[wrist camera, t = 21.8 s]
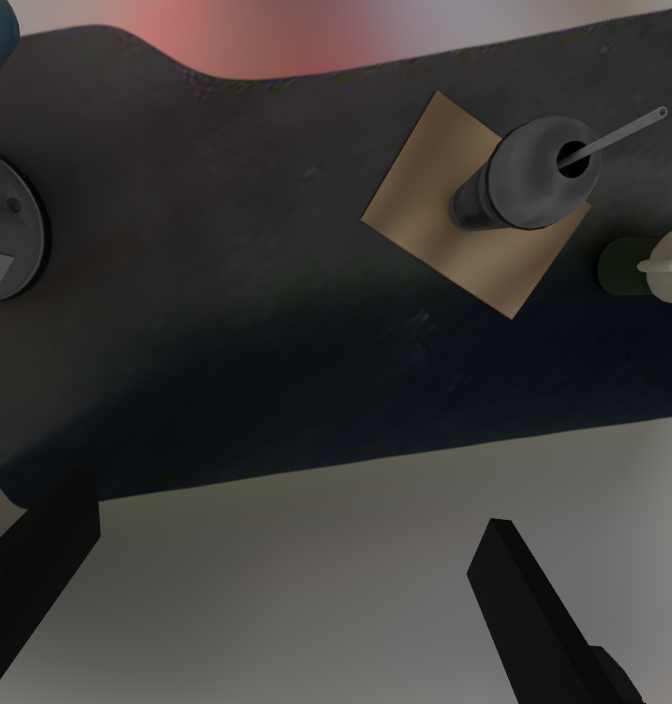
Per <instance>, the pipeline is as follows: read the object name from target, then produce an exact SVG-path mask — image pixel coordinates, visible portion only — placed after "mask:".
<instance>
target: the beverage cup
mask: <svg viewBox="0 0 672 704" xmlns="http://www.w3.org/2000/svg"><path fill="white" fill-rule="evenodd" d="M666 115H667V109H666V108H665V107H660V108H658V109H656V110H654V111H652V112H650V113H649V114H647V115H645V116H643V117H641V118H639V119H637V120H635V121H633V122H631V123H629V124H628V125H626V126H624V127H622V128H620V129H618V130H616V131H614V132H612V133H610V134H608V135H606V136H605V137H603V138H601V139H599V140H598V139H597V137H596V136H595V134H594V133H593V132H592V130H591V129H590V127H588V126H587V125H585V124H584V123H582V122H581V121H579V120H577V119H573V118H568V117H564V116H553V117H546V118H540V119H537V120H534V121H532V122H528V123H525V124H523V125H521V126H519V127H517V128H515V129H513V130H512V131H510V132H509V133H508V134H507V135H506V136H505V137H504V138H503V139H502V140H501V141H500V142H499V143H498V144H497V146H496V147H495V149H494V151H493V152H492V154H491V155H490V157H489V158H488V160H487V161H486V162H485V163H484V164H483V165H482V166H481V167H480V168H479V169H478V170H477V171H476V172H475V173H474V174H473V175H472V176H471V177H470V178H469V179H468V180H467V181H466V182H465V183H464V184H463V185H461V186H460V187H459V188H458V190H457V191H456V192H455V193H454V194H453V196H452V198H451V200H450V202H449V207H448V212H449V217H450V220H451V222H452V223H453V224H454V225H455V227H457V228H459V229H460V230H464V231H482V230H492V229H502V228H514V229H520V230H526V231H532V230H539V229H544V228H546V227H548V226H550V225H552V224H554V223H556V222H558V221H560V220H561V219H563V218H565V217H567V216H568V215H570V214H571V213H572V212H573V211H574V210H575V209H577V208H578V207H579V206H580V205H581V204H582V203H583V202H584V201H585V200H586V199H587V197H588V196H589V194H590V193H591V191H592V189H593V188H594V186H595V185H596V183H597V180H598V177H599V174H600V170H601V165H602V151H601V148H603V147H605V146H607V145H609V144H611V143H613V142H615V141H617V140H619V139H621V138H624V137H626V136H628V135H630V134H632V133H634V132H636V131H638V130H640V129H642V128H644V127H646V126H648V125H650V124H652V123H654V122H656V121H658V120H660V119H662V118H664V117H665V116H666Z"/></svg>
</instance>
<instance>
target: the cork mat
mask: <svg viewBox="0 0 672 704" xmlns="http://www.w3.org/2000/svg"><path fill="white" fill-rule="evenodd" d="M501 140H502V138H500V137H499V136H498V135H496V134H495V133H494V132H492V131H491V130H490V129H488V128H487V127H486V126H484V125H483V124H482V123H480V122H479V121H478V120H476V119H475V118H474V117H472V116H471V115H470V114H468V113H467V112H465V111H464V110H463V109H461V108H460V107H459V106H457V105H456V104H455V103H453V102H452V101H451V100H449V99H448V98H447V97H445V96H444V95H443V94H441V93H440V92H439V91H436V93H435V95H434V96H433V98H432V100H431V101H430V103H429V105H428V106H427V108H426V110H425V111H424V113H423V115H422V117H421V118H420V120H419V122H418V123H417V125H416V127H415V128H414V130H413V132H412V133H411V135H410V137H409V139H408V140H407V142H406V144H405V145H404V147H403V149H402V150H401V152H400V154H399V155H398V157H397V159H396V161H395V162H394V164H393V166H392V167H391V169H390V171H389V172H388V174H387V176H386V178H385V179H384V181H383V183H382V184H381V186H380V188H379V189H378V191H377V193H376V194H375V196H374V198H373V200H372V201H371V203H370V205H369V206H368V208H367V210H366V211H365V213H364V215H363V216H362V218H361V220H360V221H361V222H363V223H364V224H366V225H367V226H369V227H370V228H372V229H373V230H375V231H376V232H378V233H379V234H381V235H382V236H384V237H385V238H387V239H388V240H390V241H392V242H393V243H395V244H396V245H398V246H399V247H401V248H402V249H404V250H405V251H407V252H408V253H410V254H411V255H413V256H414V257H416V258H417V259H419V260H420V261H422V262H424V263H425V264H427V265H428V266H430V267H431V268H433V269H434V270H436V271H437V272H439V273H440V274H442V275H443V276H445V277H446V278H448V279H449V280H451V281H452V282H454V283H455V284H457V285H459V286H460V287H462V288H463V289H465V290H466V291H468V292H469V293H471V294H472V295H474V296H475V297H477V298H478V299H480V300H481V301H483V302H484V303H486V304H487V305H489V306H490V307H492V308H494V309H495V310H497V311H498V312H500V313H501V314H503V315H504V316H506V317H507V318H509V319H513V317H514V316H515V315H516V313H517V312H518V310H519V309H520V308H521V306H522V305H523V303H524V302H525V300H526V299H527V298H528V296H529V295H530V293H531V292H532V290H533V289H534V288H535V286H536V285H537V283H538V282H539V281H540V279H541V278H542V276H543V275H544V273H545V272H546V271H547V269H548V268H549V266H550V265H551V263H552V262H553V261H554V259H555V258H556V256H557V255H558V254H559V252H560V251H561V249H562V248H563V246H564V245H565V244H566V242H567V241H568V239H569V238H570V236H571V235H572V234H573V232H574V231H575V229H576V228H577V227H578V225H579V224H580V222H581V221H582V219H583V218H584V217H585V215H586V214H587V212H588V211H589V209H590V208H591V207H592V205H590V204H589V203H588V202H586V201H584V202H583V203H582V204H581V205H580V206H579V207H578V208H577V209H575V210H574V211H573V212H572V213H571V214H570V215H568V216H567V217H565V218H563V219H561V220H560V221H558V222H556V223H554V224H552V225H550V226H548V227H546V228H544V229H539V230H532V231H526V230H520V229H514V228H502V229H492V230H482V231H464V230H460V229H459V228H457V227H455V225H454V224H453V223H452V222H451V220H450V217H449V212H448V207H449V202H450V200H451V198H452V196H453V194H454V193H455V192H456V191H457V190H458V188H459V187H460V186H461V185H463V184H464V183H465V182H466V181H467V180H468V179H469V178H470V177H471V176H472V175H473V174H474V173H475V172H476V171H477V170H478V169H479V168H480V167H481V166H482V165H483V164H484V163H485V162H486V161H487V160H488V158H489V157H490V155H491V154H492V152H493V151H494V149H495V147H496V146H497V144H498V143H499V142H500V141H501Z"/></svg>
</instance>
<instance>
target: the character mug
mask: <svg viewBox="0 0 672 704" xmlns="http://www.w3.org/2000/svg"><path fill="white" fill-rule="evenodd" d="M597 268H598V278H599V282H600V284H601V285H602V287H603V289H604V291H606V292H608V293H610V294H612V295H614V296H619V295H643V294H654V295H656V296H657V297H658V298H659V299H661V300H662V301H666V302H670V303H672V231H671V232H670V233H668V234H667V235H666V236H665V237H653V236H649V237H620V238H619V239H617V240H615V241H613V242H611V243H610V244H608V246H607V247H606V248H605V249H604V250H603V252H602V253H601V254H600V257H599V262H598V267H597Z"/></svg>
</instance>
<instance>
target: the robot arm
mask: <svg viewBox="0 0 672 704" xmlns="http://www.w3.org/2000/svg"><path fill="white" fill-rule="evenodd" d="M19 36H20V31H19V24H18V21H17V18H16V16H15V13H14V11H13V9H12V7H11V6H10V4H9V2H8V1H7V0H0V69H1V67H2V66H3V64H4V63H5V62H6V60H7V59H8V58H9V56H10V55H11V53H12V52H13V51H14V49H15V48H16V46H17V44H18V41H19ZM50 249H51V229H50V223H49V219H48V215H47V212H46V210H45V207H44V205H43V203H42V200H41V198H40V197H39V195H38V193H37V191H36V190H35V188H34V187H33V185H32V184H31V183H30V182H29V180H28V179H27V178H26V177H25V176H24V175H23V174H22V173H21V172H20V171H19V170H18V169H17V168H16V167H15V166H14V165H12V164H11V163H10V162H8V161H7V160H5V159H4V158H2V157H1V156H0V302H1V301H6V300H9V299H12V298H14V297H17V296H19V295H21V294H22V293H24V292H26V291H27V290H28V289H30V288H31V287H32V286H33V285H34V284H35V283H36V282H37V280H38V279H39V278H40V276H41V275H42V273H43V271H44V269H45V267H46V265H47V262H48V259H49V255H50ZM100 536H101V532H100V518H99V504H98V490H97V476H96V471H89V470H80V469H72V468H70V469H69V470H68V471H67V472H66V473H65V474H64V475H63V476H62V477H61V478H60V479H59V480H58V481H57V482H56V483H55V484H54V485H53V486H52V487H51V488H50V489H49V490H48V491H47V492H46V493H45V494H44V495H43V496H42V497H41V498H40V499H39V500H38V501H37V502H36V503H35V504H34V505H33V506H31V507H30V508H29V509H28V510H27V511H26V513H24V514H23V515H22V516H21V517H20V518H19V519H18V520H17V521H16V522H15V523H14V524H13V525H12V526H11V527H10V528H9V529H8V530H7V531H6V532H5V533H4V534H3V535H2V536H1V537H0V679H1V678H2V676H3V675H4V673H5V672H6V671H7V669H8V668H9V666H10V665H11V663H12V662H13V661H14V659H15V658H16V656H17V655H18V653H19V652H20V650H21V649H22V648H23V646H24V645H25V643H26V642H27V641H28V639H29V638H30V636H31V635H32V634H33V632H34V630H35V629H36V628H37V626H38V625H39V624H40V622H41V621H42V619H43V618H44V616H45V615H46V614H47V612H48V611H49V609H50V608H51V607H52V605H53V604H54V602H55V601H56V599H57V598H58V596H59V595H60V594H61V592H62V591H63V589H64V588H65V587H66V585H67V584H68V582H69V581H70V579H71V578H72V577H73V575H74V574H75V572H76V571H77V570H78V568H79V567H80V565H81V564H82V562H83V561H84V560H85V558H86V557H87V555H88V554H89V552H90V551H91V549H92V548H93V547H94V545H95V544H96V543H97V541H98V540H99V538H100ZM467 577H468V579H469V582H470V584H471V586H472V589H473V591H474V594H475V596H476V599H477V601H478V604H479V606H480V609H481V611H482V614H483V616H484V619H485V621H486V623H487V626H488V629H489V631H490V634H491V636H492V639H493V641H494V644H495V646H496V649H497V651H498V654H499V656H500V659H501V661H502V664H503V666H504V669H505V671H506V673H507V676H508V679H509V681H510V683H511V686H512V689H513V691H514V693H515V696H516V698H517V701H518V703H519V704H646V703H644V702H643V701H642V697H641V695H640V694H639V692H638V691H637V689H636V688H635V686H634V685H633V683H632V682H631V680H630V679H629V677H628V676H627V674H626V673H625V671H624V670H623V669H622V668H621V667H620V666H619V665H618V663H617V662H616V661H615V660H614V659H613V658H612V657H611V656H610V655H609V654H608V653H607V652H606V651H605V650H604V649H603V648H602V647H600V646H589V645H588V643H587V641H586V640H585V638H584V637H583V635H582V633H581V632H580V630H579V629H578V627H577V626H576V624H575V622H574V621H573V619H572V618H571V616H570V614H569V613H568V611H567V609H566V608H565V606H564V605H563V603H562V601H561V600H560V598H559V597H558V595H557V593H556V592H555V590H554V588H553V587H552V585H551V584H550V582H549V580H548V579H547V577H546V576H545V574H544V572H543V571H542V569H541V568H540V566H539V564H538V563H537V561H536V560H535V558H534V556H533V555H532V553H531V551H530V550H529V548H528V547H527V545H526V543H525V542H524V540H523V539H522V537H521V535H520V534H519V532H518V531H517V529H516V527H515V526H514V524H513V523H512V521H511V520H502V519H494V518H491V519H490V521H489V523H488V525H487V528H486V530H485V532H484V535H483V537H482V539H481V541H480V544H479V546H478V548H477V551H476V553H475V555H474V557H473V560H472V562H471V564H470V567H469V569H468V571H467Z"/></svg>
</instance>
